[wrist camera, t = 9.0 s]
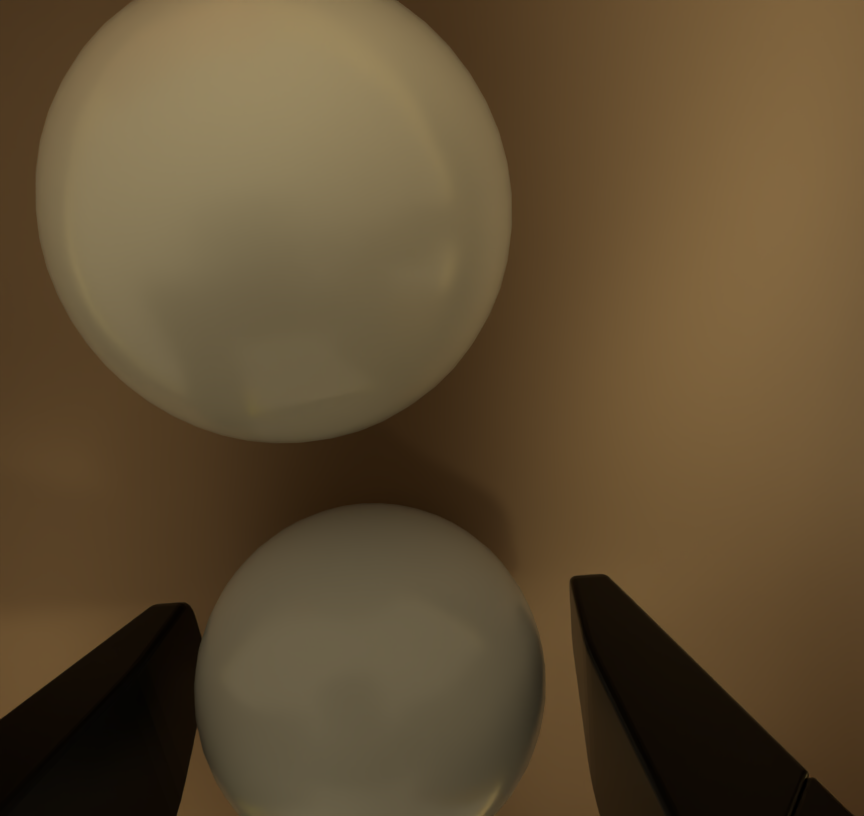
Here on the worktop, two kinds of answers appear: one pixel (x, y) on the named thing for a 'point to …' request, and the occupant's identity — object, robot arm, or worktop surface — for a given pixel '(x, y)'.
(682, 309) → the tray
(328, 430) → the pebble
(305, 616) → the pebble
